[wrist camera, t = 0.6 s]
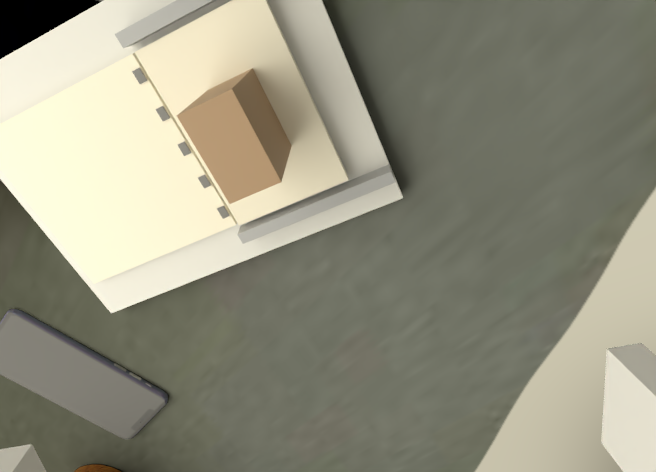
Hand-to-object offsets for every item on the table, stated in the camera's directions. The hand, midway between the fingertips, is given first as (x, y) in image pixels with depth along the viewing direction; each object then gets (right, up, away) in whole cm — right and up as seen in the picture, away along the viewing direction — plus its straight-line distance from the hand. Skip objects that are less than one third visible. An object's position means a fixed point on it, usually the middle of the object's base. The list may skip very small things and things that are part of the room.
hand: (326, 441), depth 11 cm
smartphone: (-22, -7, +31) cm, 39 cm away
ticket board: (-10, +11, +20) cm, 25 cm away
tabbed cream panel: (-5, +12, +18) cm, 22 cm away
